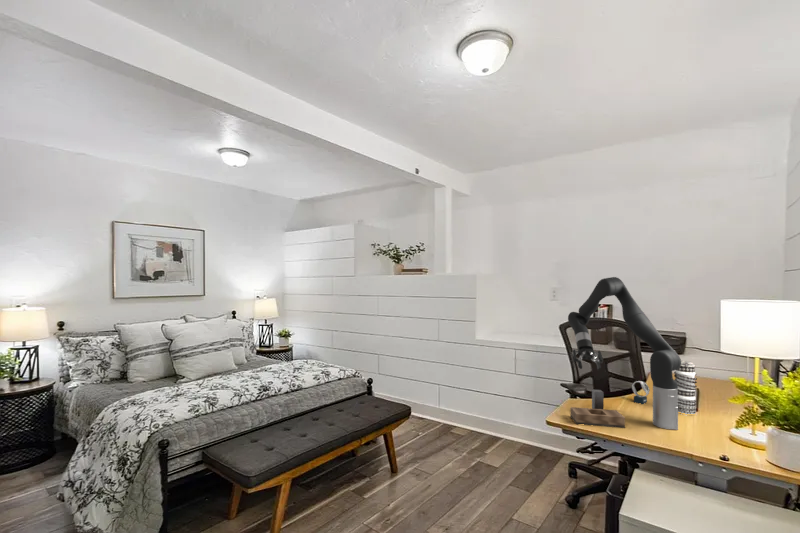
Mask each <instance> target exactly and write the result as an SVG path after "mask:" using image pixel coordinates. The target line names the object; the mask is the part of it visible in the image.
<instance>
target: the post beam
mask: <svg viewBox="0 0 800 533" xmlns="http://www.w3.org/2000/svg"><path fill="white" fill-rule="evenodd" d="M570 419H572V420H574V421H573V422H574V423H575V425H578V424H584V425H583V426H591V425H593V426H594V427H605V428H606V427H607V428H620V429H625V428H626V417H625V416H624V415H623V414H621V413H620V412H619V411H618V410H617V409H592V407H591V408H588V407H574V406H573V407H572V406H570Z"/></svg>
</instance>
